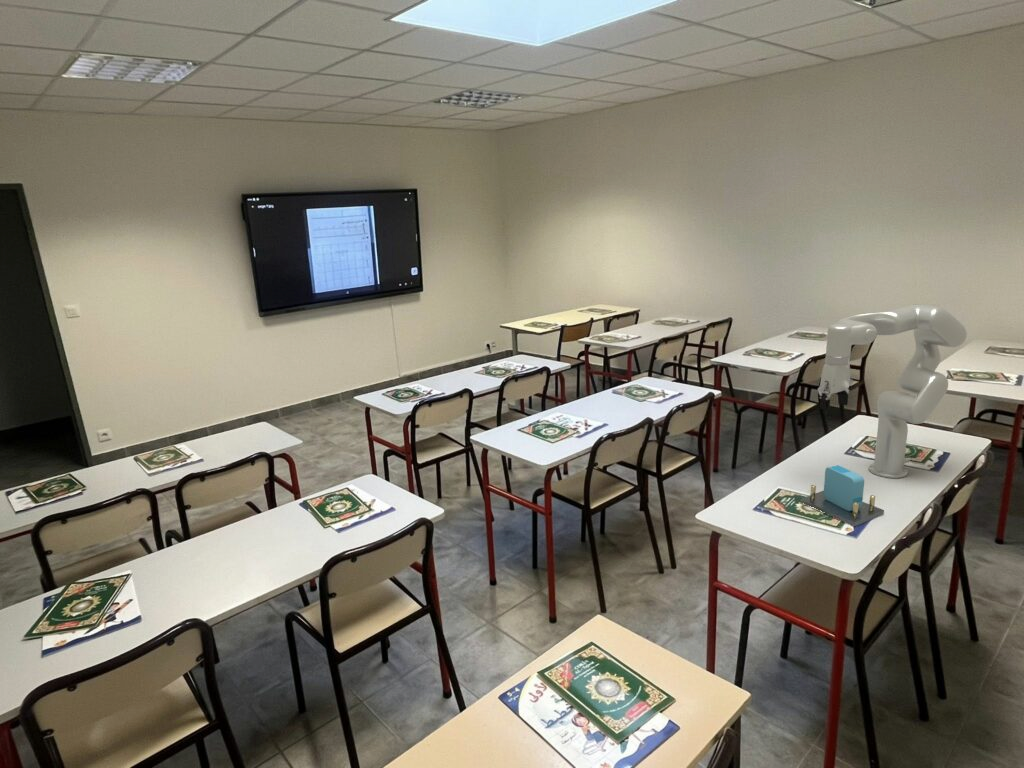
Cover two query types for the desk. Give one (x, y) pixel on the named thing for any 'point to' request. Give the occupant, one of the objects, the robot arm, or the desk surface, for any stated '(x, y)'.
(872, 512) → the plate
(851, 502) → the data package
